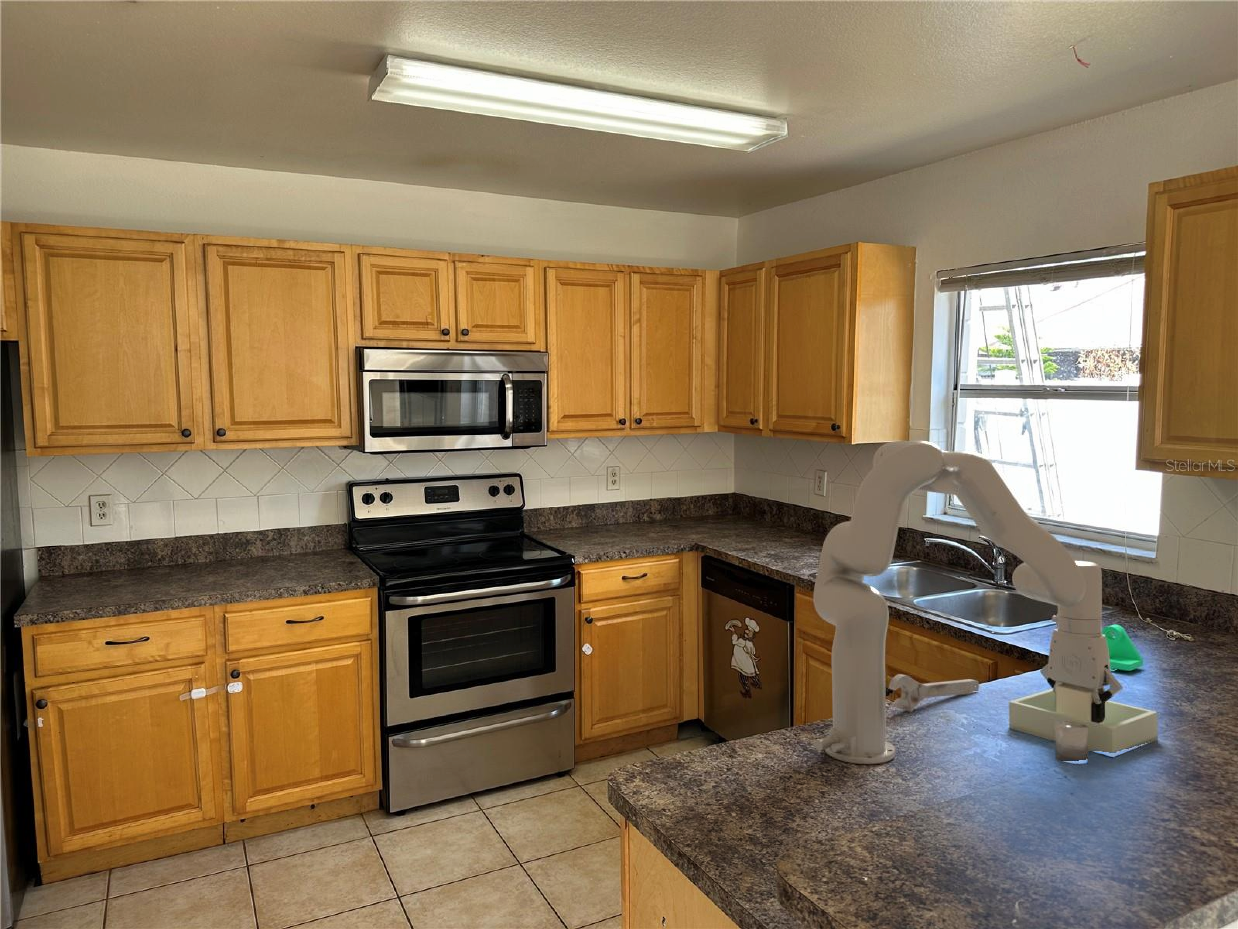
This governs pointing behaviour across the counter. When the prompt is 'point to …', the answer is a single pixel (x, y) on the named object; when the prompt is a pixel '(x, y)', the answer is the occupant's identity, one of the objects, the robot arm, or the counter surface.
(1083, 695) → the flour box
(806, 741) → the counter surface
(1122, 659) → the camera mount
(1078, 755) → the tea tin
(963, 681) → the wrench
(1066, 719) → the crate
